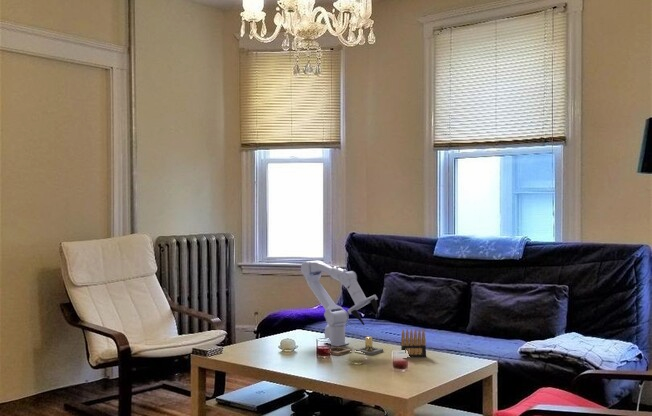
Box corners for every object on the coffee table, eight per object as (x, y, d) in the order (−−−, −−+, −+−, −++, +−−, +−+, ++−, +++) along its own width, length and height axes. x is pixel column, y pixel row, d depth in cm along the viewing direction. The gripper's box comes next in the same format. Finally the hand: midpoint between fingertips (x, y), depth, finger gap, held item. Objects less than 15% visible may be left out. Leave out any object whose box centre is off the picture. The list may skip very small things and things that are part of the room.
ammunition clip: (425, 356, 283) (425, 328, 283) (426, 357, 281) (426, 329, 281) (400, 356, 283) (400, 328, 282) (401, 357, 281) (401, 329, 281)
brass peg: (363, 352, 291) (363, 337, 291) (368, 350, 294) (368, 336, 294) (369, 353, 289) (369, 338, 289) (374, 351, 291) (373, 337, 291)
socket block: (354, 352, 291) (354, 349, 291) (367, 348, 298) (367, 346, 298) (370, 355, 285) (370, 352, 285) (383, 351, 292) (383, 349, 292)
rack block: (322, 352, 291) (322, 349, 291) (336, 349, 298) (336, 346, 298) (337, 355, 285) (337, 353, 285) (351, 352, 291) (351, 349, 291)
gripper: (341, 300, 294) (355, 326, 288) (369, 284, 294) (383, 309, 288) (344, 304, 300) (358, 329, 294) (372, 288, 300) (386, 313, 294)
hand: (371, 320), depth 291 cm, fingers open, 7 cm apart
